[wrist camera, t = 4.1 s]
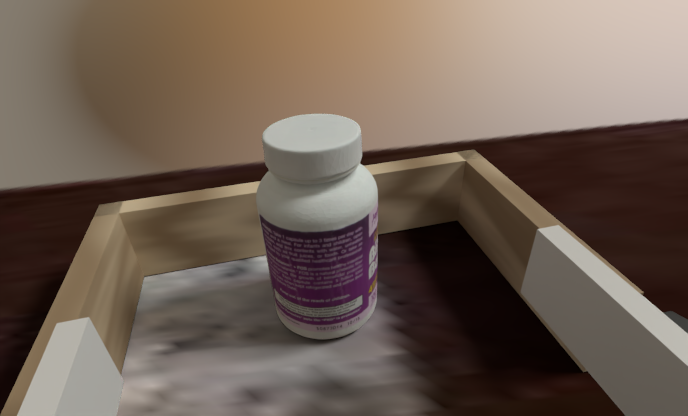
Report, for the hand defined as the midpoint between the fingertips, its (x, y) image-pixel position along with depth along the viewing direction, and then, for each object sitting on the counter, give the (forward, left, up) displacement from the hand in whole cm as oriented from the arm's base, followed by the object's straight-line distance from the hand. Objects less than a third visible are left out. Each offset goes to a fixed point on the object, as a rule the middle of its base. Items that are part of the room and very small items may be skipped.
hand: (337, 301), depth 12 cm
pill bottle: (-1, -7, -7) cm, 10 cm away
